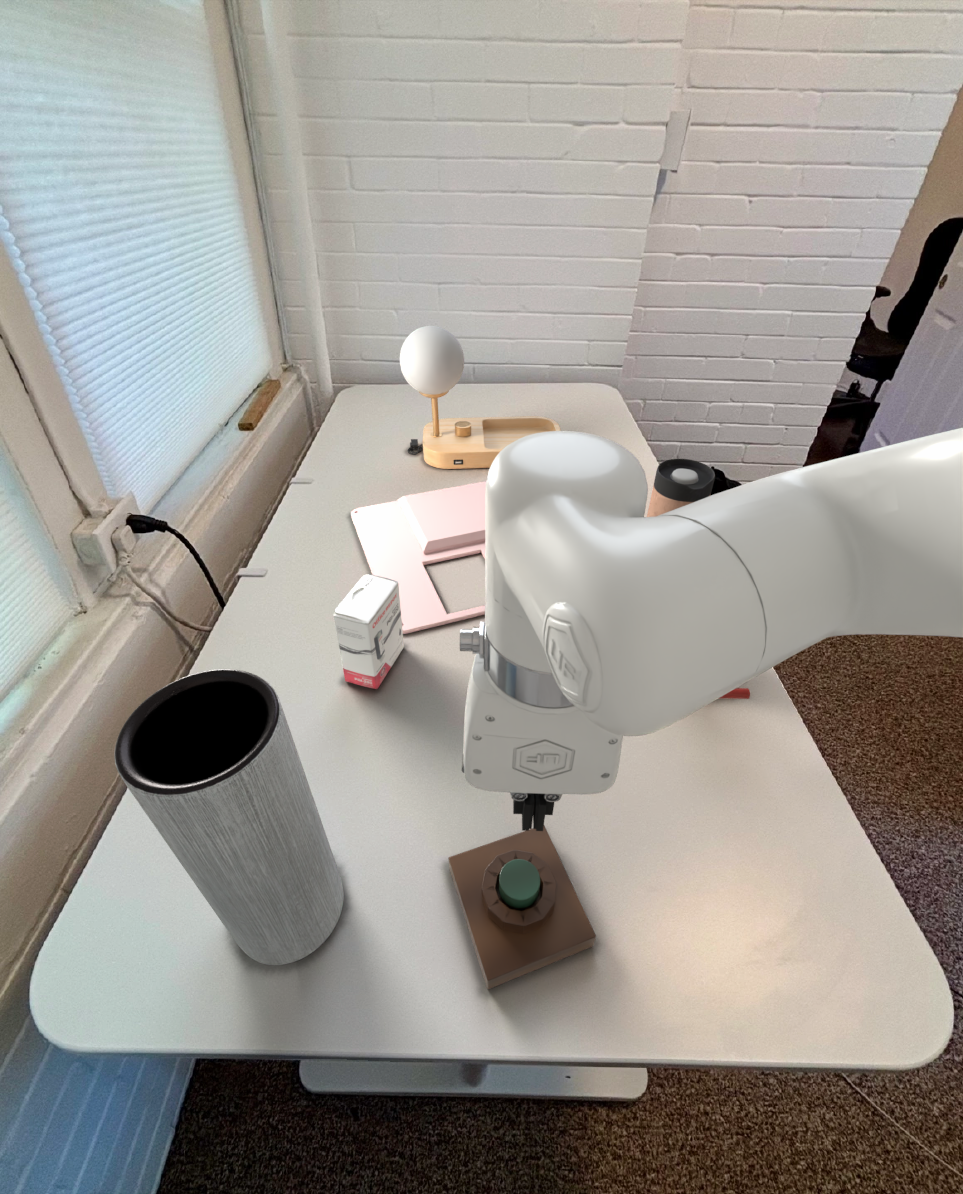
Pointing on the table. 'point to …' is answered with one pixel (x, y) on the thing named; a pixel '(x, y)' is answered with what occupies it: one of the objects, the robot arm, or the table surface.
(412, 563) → the panel
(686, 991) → the table surface
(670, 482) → the travel mug
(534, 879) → the button
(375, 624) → the ink box
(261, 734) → the vase
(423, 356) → the lamp
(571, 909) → the block
